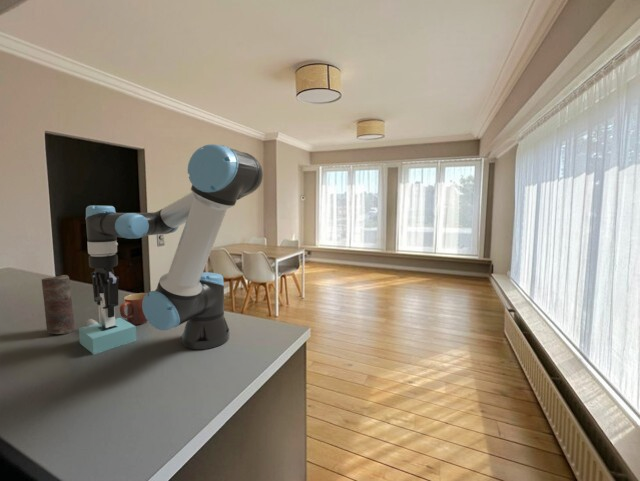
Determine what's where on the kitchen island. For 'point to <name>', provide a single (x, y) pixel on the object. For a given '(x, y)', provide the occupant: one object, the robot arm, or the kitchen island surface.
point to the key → (102, 310)
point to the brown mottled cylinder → (58, 305)
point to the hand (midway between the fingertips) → (107, 324)
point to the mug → (134, 309)
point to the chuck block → (106, 335)
